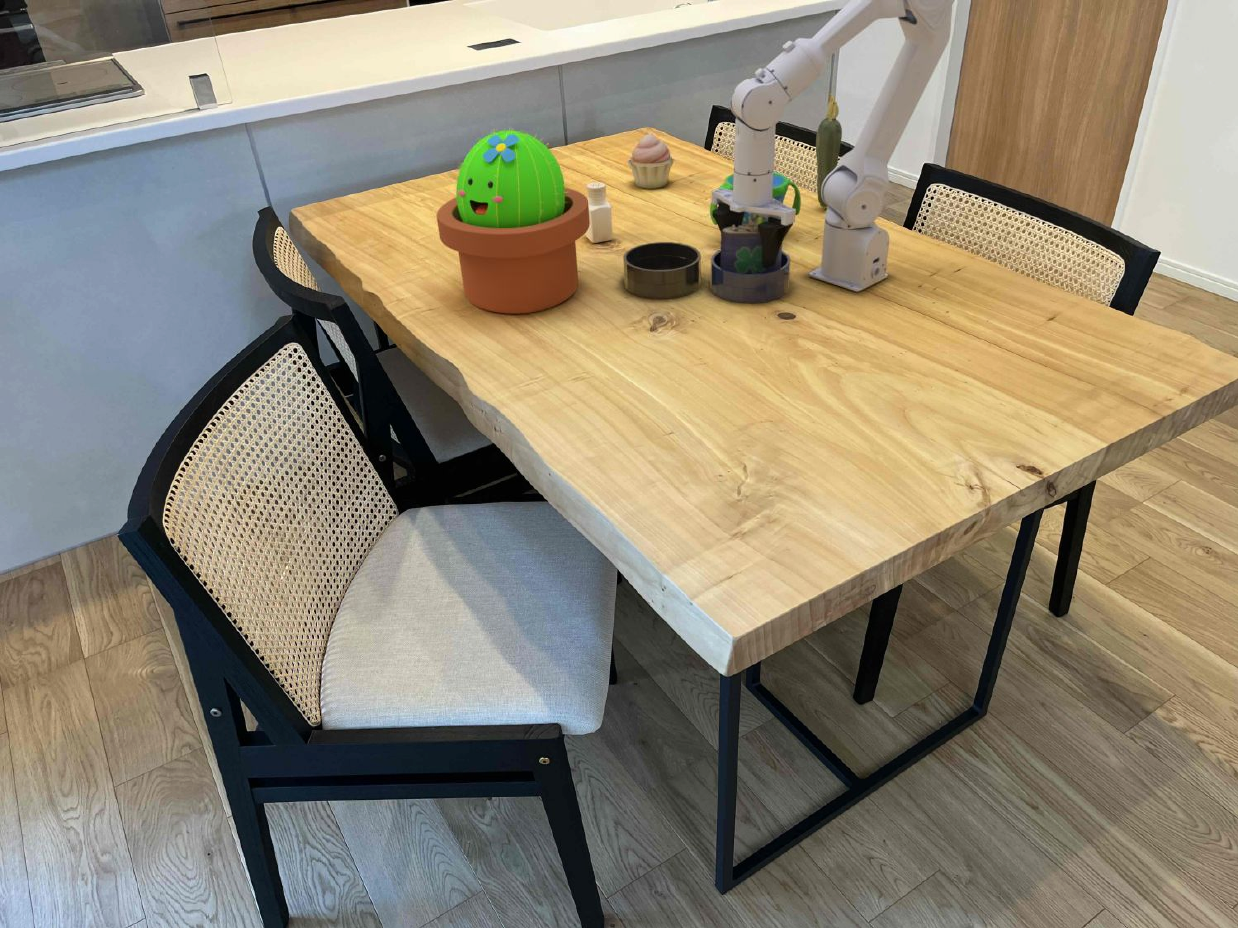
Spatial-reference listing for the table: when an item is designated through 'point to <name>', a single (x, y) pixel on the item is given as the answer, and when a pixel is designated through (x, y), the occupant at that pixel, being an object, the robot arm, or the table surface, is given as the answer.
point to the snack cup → (778, 193)
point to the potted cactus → (514, 225)
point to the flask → (744, 250)
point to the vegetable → (827, 145)
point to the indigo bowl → (749, 282)
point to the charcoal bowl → (662, 270)
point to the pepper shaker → (599, 214)
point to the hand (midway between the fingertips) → (750, 259)
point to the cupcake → (651, 163)
